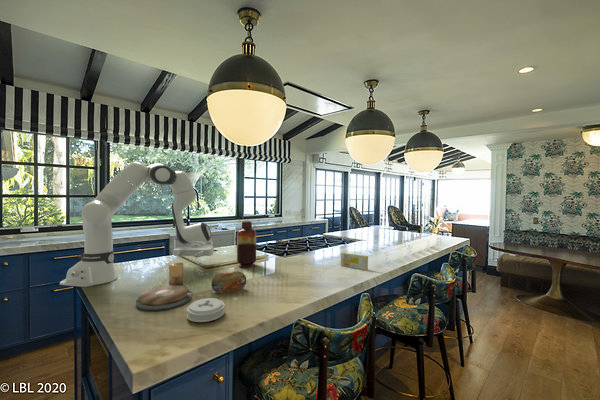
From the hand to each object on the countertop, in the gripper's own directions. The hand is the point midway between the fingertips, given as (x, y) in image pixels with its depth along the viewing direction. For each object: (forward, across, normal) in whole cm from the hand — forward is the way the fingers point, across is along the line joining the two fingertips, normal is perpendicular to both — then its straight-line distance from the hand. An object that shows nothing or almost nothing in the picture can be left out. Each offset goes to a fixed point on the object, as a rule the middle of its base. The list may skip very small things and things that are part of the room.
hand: (188, 254), depth 141 cm
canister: (+13, 0, +11) cm, 17 cm away
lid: (+43, +24, +12) cm, 50 cm away
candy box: (-19, +88, +13) cm, 91 cm away
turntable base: (+30, +2, +11) cm, 32 cm away
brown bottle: (-22, +26, +12) cm, 36 cm away
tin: (+19, +26, +12) cm, 34 cm away
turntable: (+30, +3, +10) cm, 32 cm away
